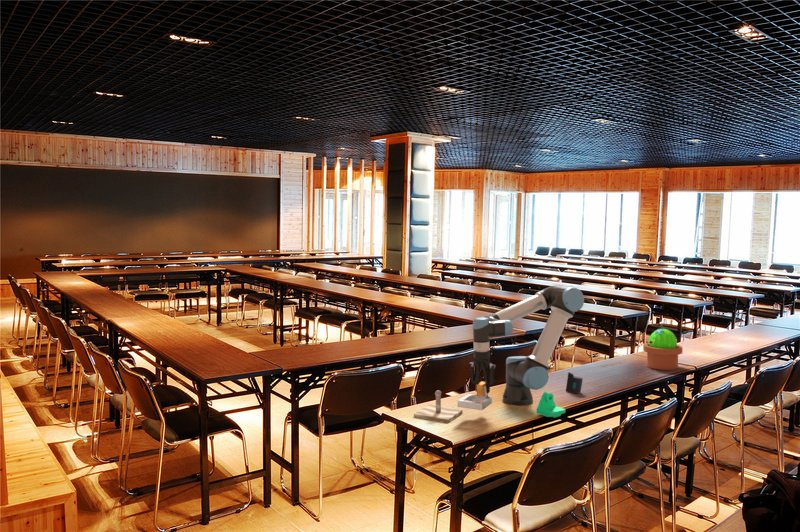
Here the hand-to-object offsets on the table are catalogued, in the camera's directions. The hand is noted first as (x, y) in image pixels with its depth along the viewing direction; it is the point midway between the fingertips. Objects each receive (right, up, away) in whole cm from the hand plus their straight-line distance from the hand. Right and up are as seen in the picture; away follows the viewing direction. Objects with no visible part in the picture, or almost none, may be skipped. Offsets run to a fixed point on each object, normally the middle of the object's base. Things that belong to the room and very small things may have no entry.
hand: (482, 398), depth 280 cm
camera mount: (+32, -8, -1) cm, 33 cm away
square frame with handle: (-3, -1, -6) cm, 7 cm away
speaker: (+55, -5, +36) cm, 65 cm away
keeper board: (-21, -8, 0) cm, 23 cm away
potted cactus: (+126, 0, +89) cm, 154 cm away
